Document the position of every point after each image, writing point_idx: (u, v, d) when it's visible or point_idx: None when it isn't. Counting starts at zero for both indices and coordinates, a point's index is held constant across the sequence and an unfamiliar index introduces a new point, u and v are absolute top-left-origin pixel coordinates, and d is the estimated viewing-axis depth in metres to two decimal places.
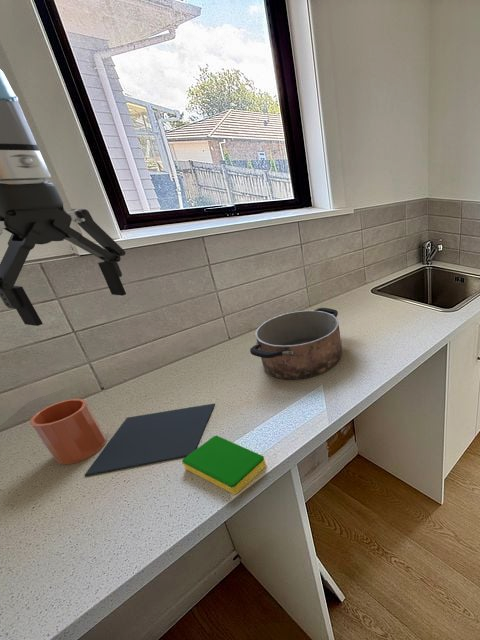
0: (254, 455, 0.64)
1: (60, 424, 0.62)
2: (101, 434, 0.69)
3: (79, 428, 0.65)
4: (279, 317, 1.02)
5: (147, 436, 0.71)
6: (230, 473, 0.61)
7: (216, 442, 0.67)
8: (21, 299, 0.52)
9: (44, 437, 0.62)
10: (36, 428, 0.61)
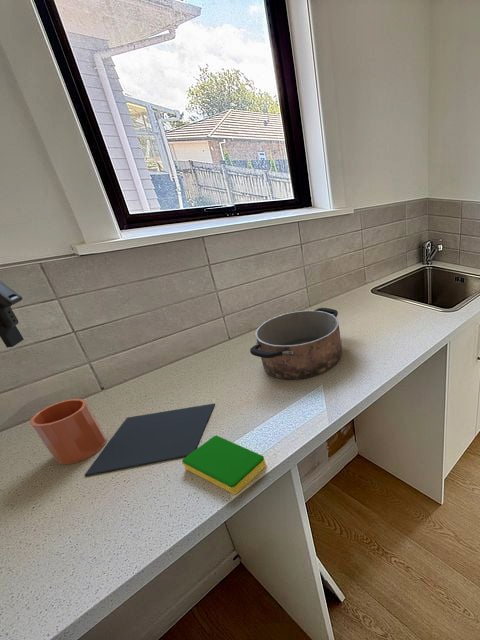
0: (254, 455, 0.64)
1: (60, 424, 0.62)
2: (101, 434, 0.69)
3: (79, 428, 0.65)
4: (279, 317, 1.02)
5: (147, 436, 0.71)
6: (230, 473, 0.61)
7: (216, 442, 0.67)
8: None
9: (44, 437, 0.62)
10: (36, 428, 0.61)
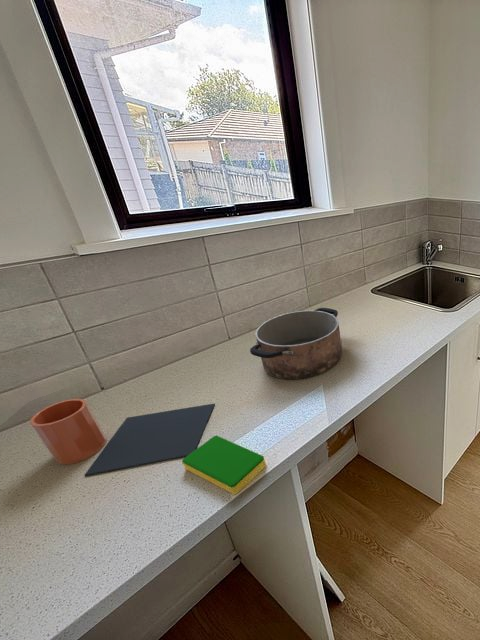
0: (254, 455, 0.64)
1: (60, 424, 0.62)
2: (101, 434, 0.69)
3: (79, 428, 0.65)
4: (279, 317, 1.02)
5: (147, 436, 0.71)
6: (230, 473, 0.61)
7: (216, 442, 0.67)
8: None
9: (44, 437, 0.62)
10: (36, 428, 0.61)
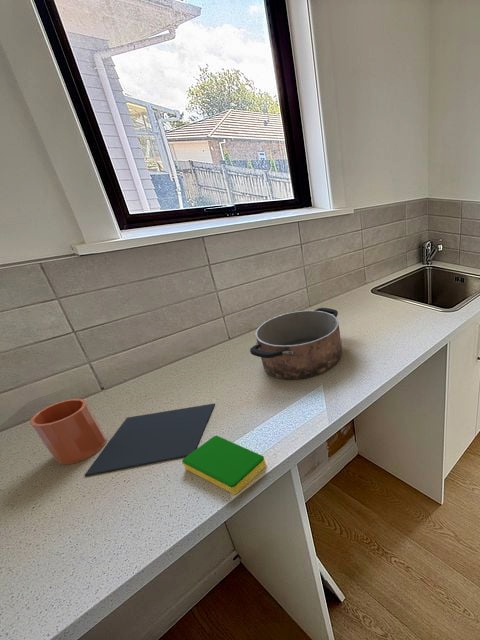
0: (254, 455, 0.64)
1: (60, 424, 0.62)
2: (101, 434, 0.69)
3: (79, 428, 0.65)
4: (279, 317, 1.02)
5: (147, 436, 0.71)
6: (230, 473, 0.61)
7: (216, 442, 0.67)
8: None
9: (44, 437, 0.62)
10: (36, 428, 0.61)
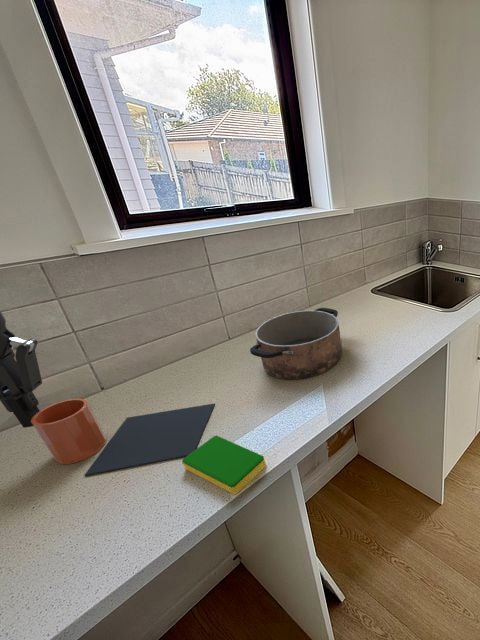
0: (254, 455, 0.64)
1: (62, 424, 0.62)
2: (101, 434, 0.69)
3: (80, 428, 0.65)
4: (279, 317, 1.02)
5: (147, 436, 0.71)
6: (230, 473, 0.61)
7: (216, 442, 0.67)
8: (10, 407, 0.60)
9: (45, 437, 0.62)
10: (37, 427, 0.61)
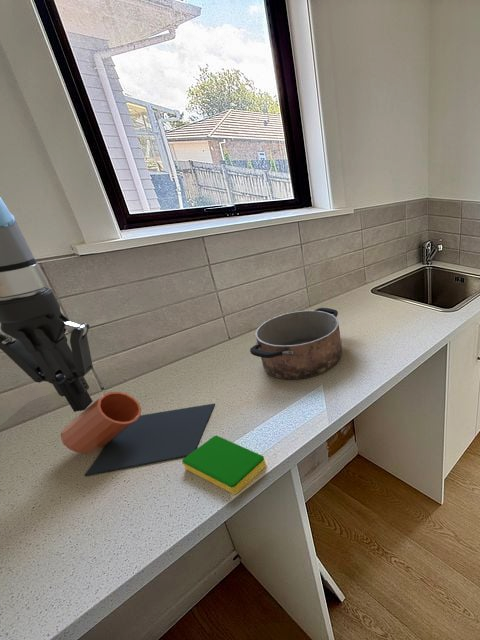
0: (254, 455, 0.64)
1: (117, 426, 0.65)
2: None
3: (119, 432, 0.67)
4: (279, 317, 1.02)
5: (147, 436, 0.71)
6: (230, 473, 0.61)
7: (216, 442, 0.67)
8: (62, 391, 0.62)
9: (92, 424, 0.63)
10: (98, 416, 0.63)
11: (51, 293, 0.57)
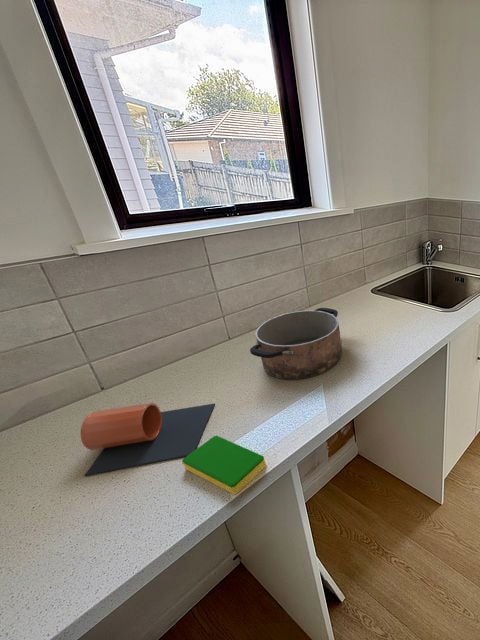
0: (254, 455, 0.64)
1: (143, 440, 0.68)
2: None
3: None
4: (279, 317, 1.02)
5: None
6: (230, 473, 0.61)
7: (216, 442, 0.67)
8: None
9: (124, 431, 0.66)
10: (137, 426, 0.66)
11: None
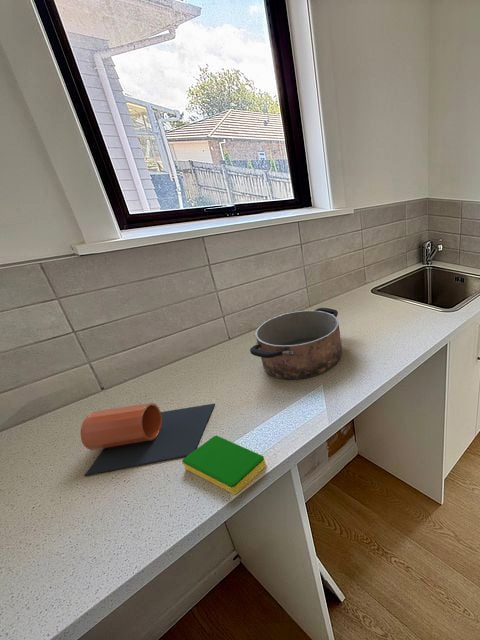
0: (254, 455, 0.64)
1: (143, 440, 0.68)
2: None
3: None
4: (279, 317, 1.02)
5: None
6: (230, 473, 0.61)
7: (216, 442, 0.67)
8: None
9: (124, 431, 0.66)
10: (137, 426, 0.66)
11: None
